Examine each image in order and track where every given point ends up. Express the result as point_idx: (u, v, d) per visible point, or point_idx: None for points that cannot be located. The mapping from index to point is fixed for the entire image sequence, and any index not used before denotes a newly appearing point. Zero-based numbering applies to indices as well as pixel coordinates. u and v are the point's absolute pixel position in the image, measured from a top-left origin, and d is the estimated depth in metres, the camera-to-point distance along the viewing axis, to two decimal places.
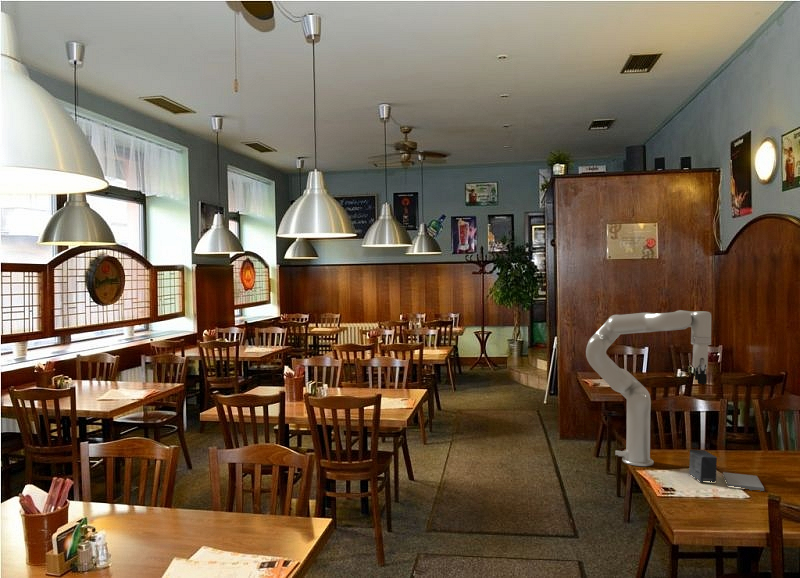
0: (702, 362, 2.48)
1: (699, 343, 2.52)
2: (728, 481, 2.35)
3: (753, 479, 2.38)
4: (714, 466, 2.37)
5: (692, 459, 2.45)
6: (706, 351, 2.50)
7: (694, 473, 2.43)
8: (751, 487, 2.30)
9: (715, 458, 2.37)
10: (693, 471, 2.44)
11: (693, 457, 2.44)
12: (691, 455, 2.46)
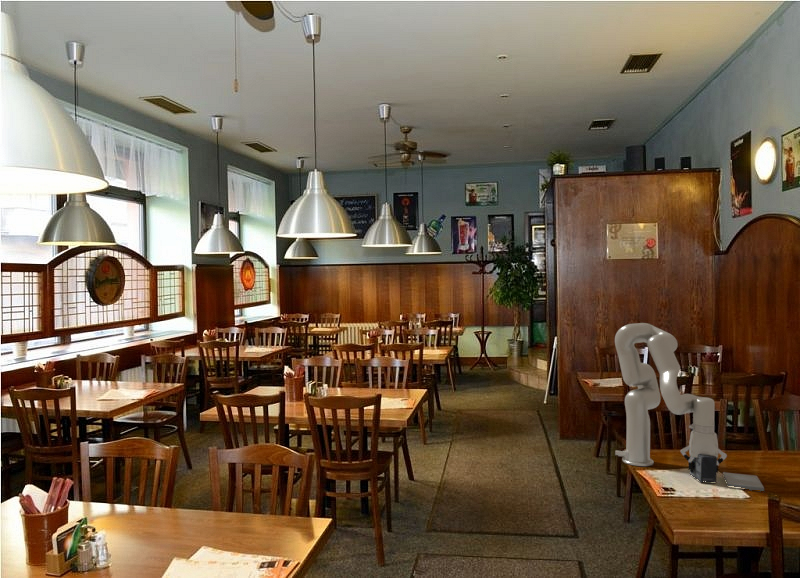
0: (723, 452, 2.40)
1: None
2: (728, 481, 2.35)
3: (753, 479, 2.38)
4: (714, 466, 2.37)
5: None
6: None
7: (694, 473, 2.43)
8: (751, 487, 2.30)
9: (715, 458, 2.37)
10: (693, 471, 2.44)
11: None
12: None
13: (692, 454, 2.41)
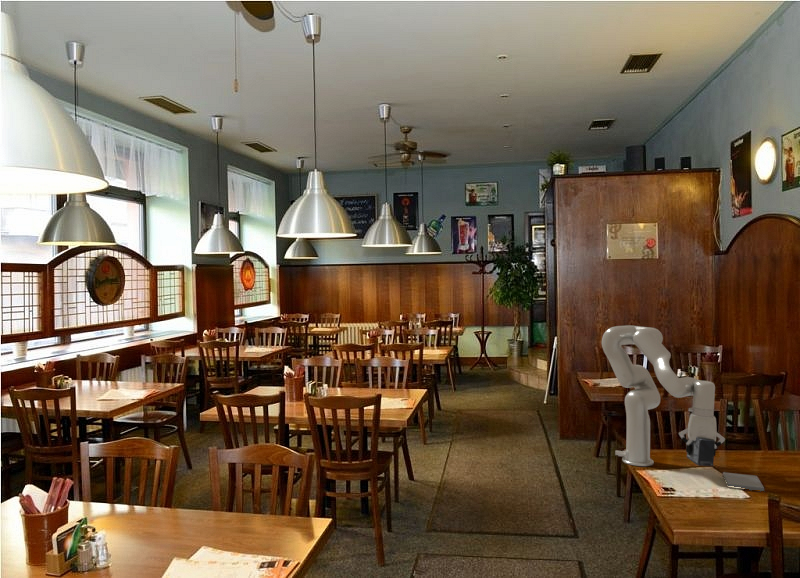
0: (721, 436, 2.40)
1: None
2: (728, 481, 2.35)
3: (753, 479, 2.38)
4: (712, 449, 2.38)
5: None
6: None
7: (692, 456, 2.44)
8: (751, 487, 2.30)
9: (713, 441, 2.38)
10: (691, 453, 2.45)
11: None
12: None
13: (690, 437, 2.42)
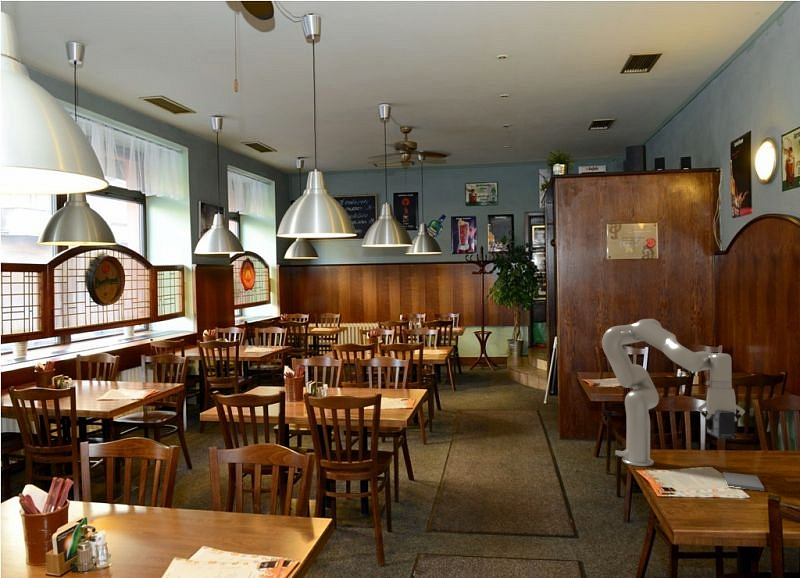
0: (741, 408, 2.37)
1: (731, 387, 2.37)
2: (728, 481, 2.35)
3: (753, 479, 2.38)
4: (732, 421, 2.35)
5: (710, 417, 2.42)
6: None
7: (712, 430, 2.40)
8: (751, 487, 2.30)
9: (733, 413, 2.35)
10: (711, 428, 2.41)
11: None
12: None
13: (709, 410, 2.39)
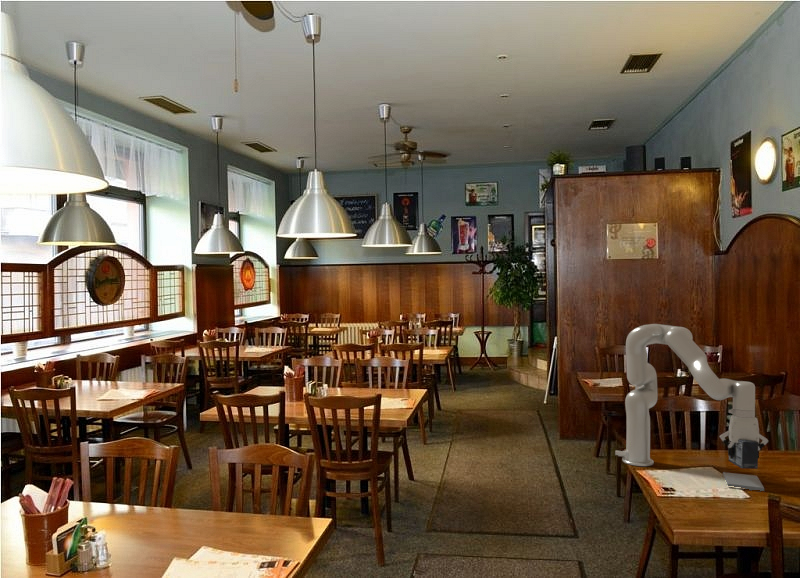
0: (764, 437, 2.34)
1: (754, 416, 2.35)
2: (728, 481, 2.35)
3: (753, 479, 2.38)
4: (755, 451, 2.32)
5: None
6: None
7: (734, 459, 2.38)
8: (751, 487, 2.30)
9: (757, 443, 2.32)
10: (733, 456, 2.39)
11: None
12: None
13: (732, 439, 2.36)
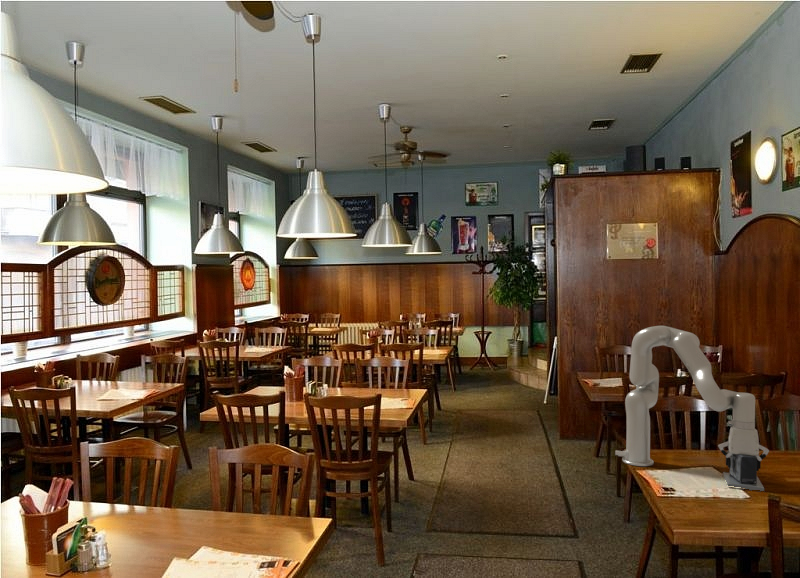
0: (764, 447, 2.34)
1: (754, 428, 2.35)
2: (728, 481, 2.35)
3: None
4: (754, 466, 2.32)
5: (732, 459, 2.40)
6: None
7: (734, 473, 2.38)
8: (751, 487, 2.30)
9: (755, 458, 2.32)
10: (733, 471, 2.39)
11: (733, 457, 2.40)
12: (731, 455, 2.41)
13: (732, 451, 2.36)
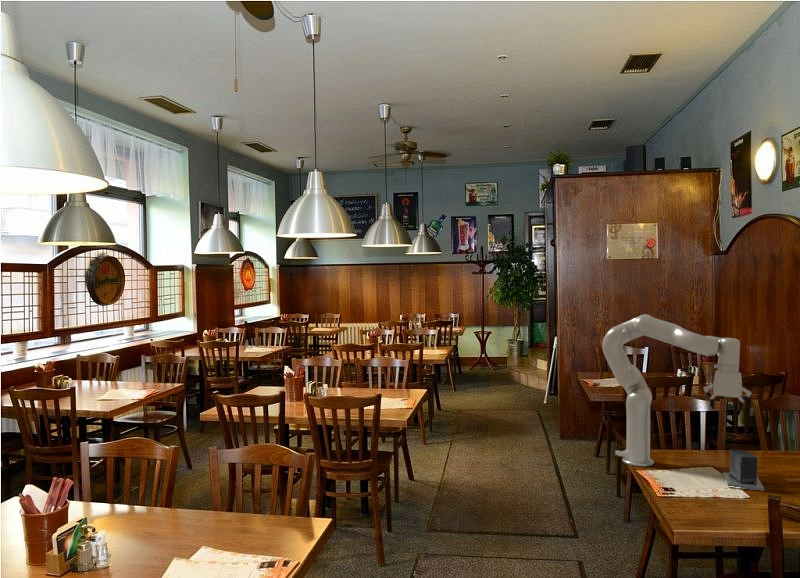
0: (747, 390, 2.45)
1: (738, 371, 2.46)
2: (728, 481, 2.35)
3: None
4: (754, 466, 2.32)
5: (732, 459, 2.40)
6: None
7: (734, 473, 2.38)
8: (751, 487, 2.30)
9: (755, 458, 2.32)
10: (733, 471, 2.39)
11: (733, 457, 2.40)
12: (731, 455, 2.41)
13: (716, 392, 2.48)
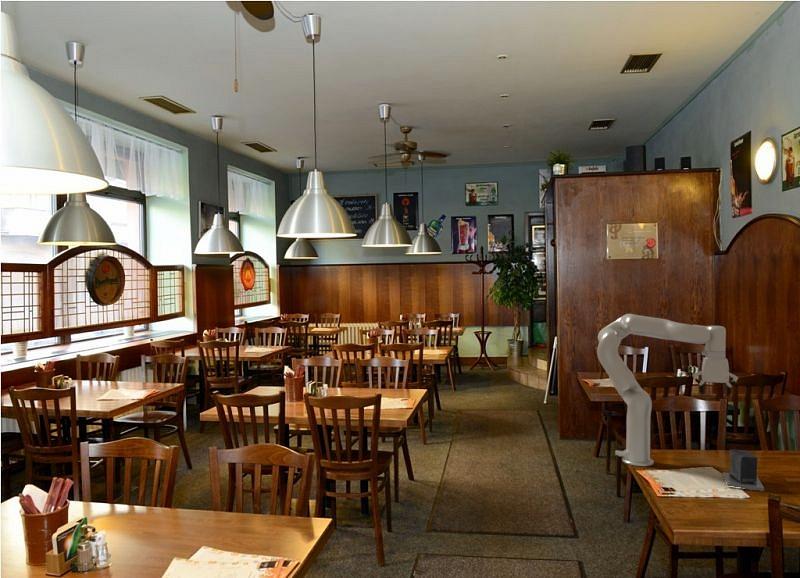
0: (734, 375, 2.56)
1: None
2: (728, 481, 2.35)
3: None
4: (754, 466, 2.32)
5: (732, 459, 2.40)
6: None
7: (734, 473, 2.38)
8: (751, 487, 2.30)
9: (755, 458, 2.32)
10: (733, 471, 2.39)
11: (733, 457, 2.40)
12: (731, 455, 2.41)
13: (704, 378, 2.57)
